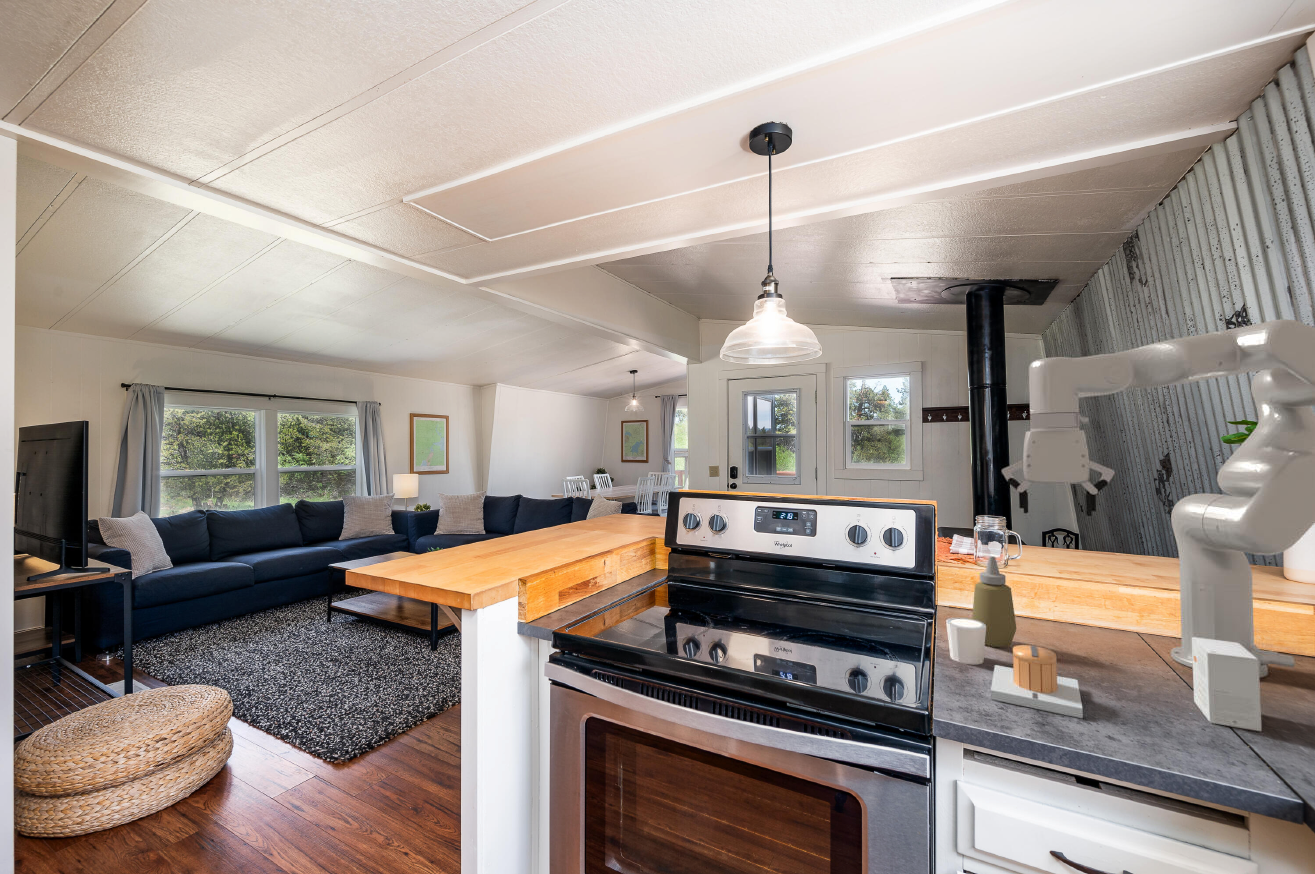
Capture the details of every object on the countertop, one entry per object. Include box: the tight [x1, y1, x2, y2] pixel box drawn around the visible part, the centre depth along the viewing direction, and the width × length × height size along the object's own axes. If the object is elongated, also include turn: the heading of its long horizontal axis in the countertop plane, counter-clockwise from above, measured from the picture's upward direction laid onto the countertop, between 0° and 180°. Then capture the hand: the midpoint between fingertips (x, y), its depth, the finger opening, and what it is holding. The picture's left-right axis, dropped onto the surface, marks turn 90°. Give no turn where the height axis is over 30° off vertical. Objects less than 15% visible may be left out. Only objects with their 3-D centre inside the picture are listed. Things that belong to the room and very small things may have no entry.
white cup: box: [945, 617, 986, 665], centre depth 108 cm, size 7×7×7 cm
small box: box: [1192, 637, 1263, 732], centre depth 84 cm, size 8×6×10 cm
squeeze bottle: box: [971, 555, 1017, 648], centre depth 116 cm, size 8×8×18 cm
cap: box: [1012, 644, 1058, 693], centre depth 93 cm, size 6×6×6 cm
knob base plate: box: [990, 664, 1084, 719], centre depth 93 cm, size 12×12×6 cm
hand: (1056, 513), depth 105 cm, fingers open, 9 cm apart
